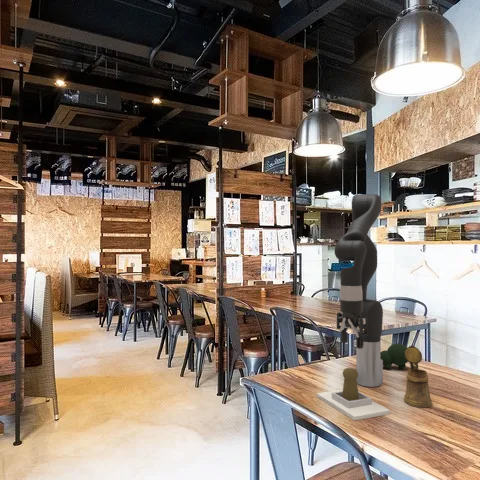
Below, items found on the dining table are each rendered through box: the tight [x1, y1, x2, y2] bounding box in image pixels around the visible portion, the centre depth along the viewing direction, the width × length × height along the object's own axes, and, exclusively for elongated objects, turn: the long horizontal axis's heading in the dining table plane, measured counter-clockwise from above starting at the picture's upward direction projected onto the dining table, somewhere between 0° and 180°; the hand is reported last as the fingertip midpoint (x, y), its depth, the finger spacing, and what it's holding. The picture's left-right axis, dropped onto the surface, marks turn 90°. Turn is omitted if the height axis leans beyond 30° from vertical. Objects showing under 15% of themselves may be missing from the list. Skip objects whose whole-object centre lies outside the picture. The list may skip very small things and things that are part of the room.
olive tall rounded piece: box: [342, 367, 359, 401], centre depth 144 cm, size 6×6×11 cm
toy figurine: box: [381, 342, 409, 370], centre depth 187 cm, size 9×19×25 cm
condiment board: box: [316, 389, 391, 421], centre depth 144 cm, size 14×22×3 cm, turn 22°
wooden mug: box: [403, 344, 433, 409], centre depth 148 cm, size 9×14×18 cm, turn 170°
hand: (351, 345), depth 144 cm, fingers open, 8 cm apart
